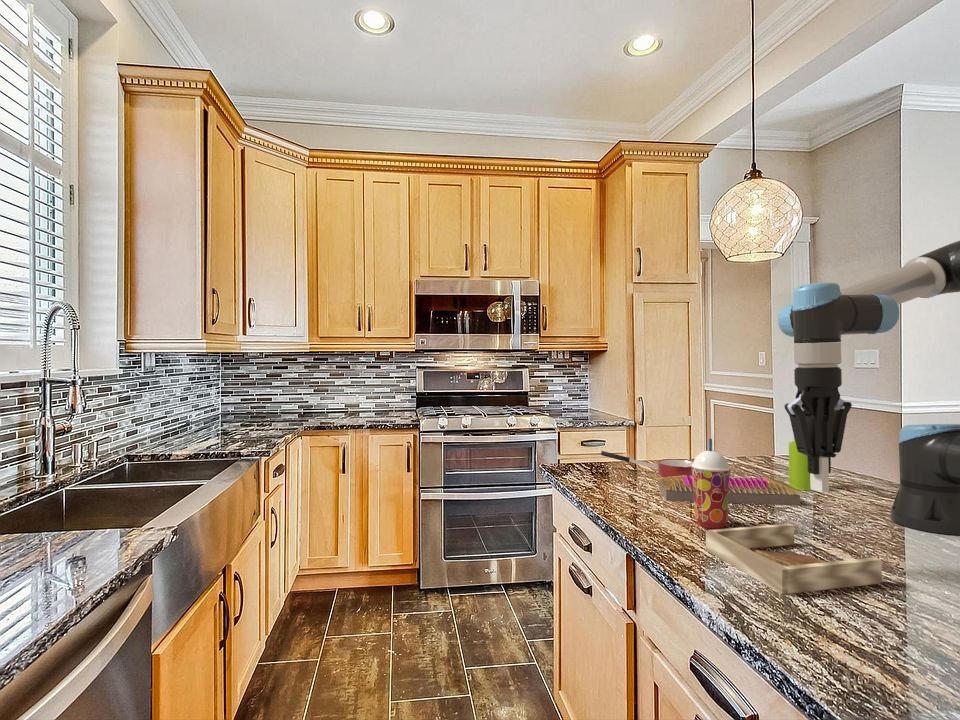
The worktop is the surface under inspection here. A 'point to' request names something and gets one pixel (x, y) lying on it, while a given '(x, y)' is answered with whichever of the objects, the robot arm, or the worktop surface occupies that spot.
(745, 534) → the box
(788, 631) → the worktop surface
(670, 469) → the frying pan
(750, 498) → the pink bristle brush
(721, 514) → the smoothie
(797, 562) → the shard
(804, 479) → the soap dispenser
